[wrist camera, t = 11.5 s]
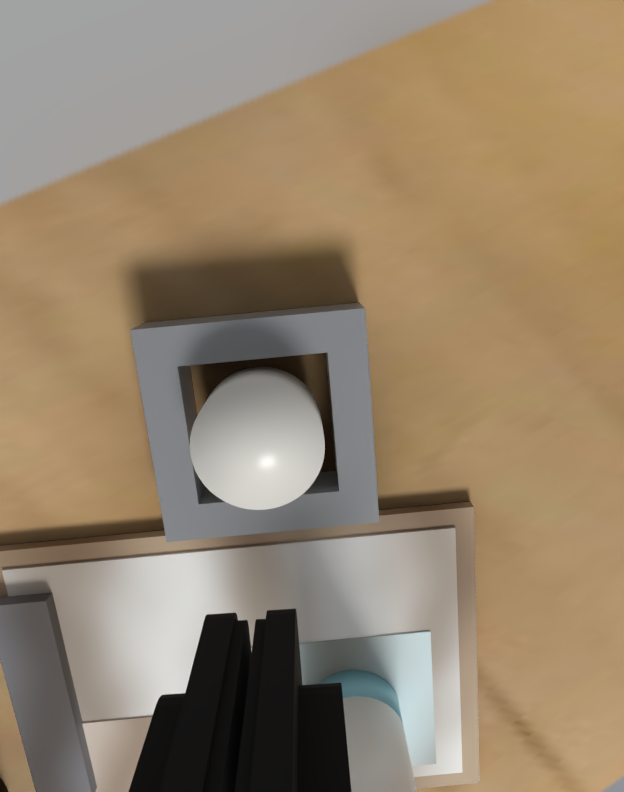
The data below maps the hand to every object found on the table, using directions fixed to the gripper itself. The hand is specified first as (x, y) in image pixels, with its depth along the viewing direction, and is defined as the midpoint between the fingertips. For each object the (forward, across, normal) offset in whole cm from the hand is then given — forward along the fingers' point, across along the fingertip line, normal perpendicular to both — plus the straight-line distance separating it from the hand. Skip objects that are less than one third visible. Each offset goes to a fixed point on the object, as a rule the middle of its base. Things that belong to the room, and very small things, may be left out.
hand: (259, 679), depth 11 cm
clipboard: (+12, +2, +10) cm, 16 cm away
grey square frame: (+12, +1, -1) cm, 13 cm away
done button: (+11, +1, -1) cm, 11 cm away
